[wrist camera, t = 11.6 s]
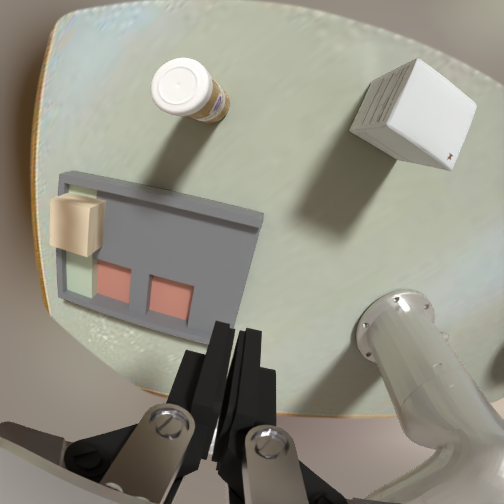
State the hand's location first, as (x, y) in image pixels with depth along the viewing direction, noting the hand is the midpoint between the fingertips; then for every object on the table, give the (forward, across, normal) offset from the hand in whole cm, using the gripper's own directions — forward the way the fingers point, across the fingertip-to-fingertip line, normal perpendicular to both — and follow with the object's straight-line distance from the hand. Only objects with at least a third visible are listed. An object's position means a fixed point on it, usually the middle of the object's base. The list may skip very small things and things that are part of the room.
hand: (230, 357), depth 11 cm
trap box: (+27, +12, +10) cm, 31 cm away
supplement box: (+27, -12, -14) cm, 33 cm away
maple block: (+25, +21, +6) cm, 33 cm away
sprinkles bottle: (+27, +8, -10) cm, 30 cm away
